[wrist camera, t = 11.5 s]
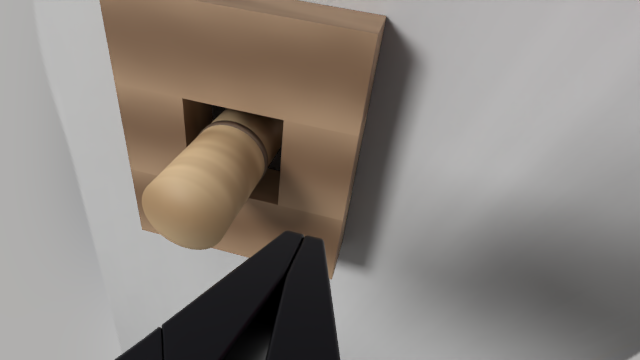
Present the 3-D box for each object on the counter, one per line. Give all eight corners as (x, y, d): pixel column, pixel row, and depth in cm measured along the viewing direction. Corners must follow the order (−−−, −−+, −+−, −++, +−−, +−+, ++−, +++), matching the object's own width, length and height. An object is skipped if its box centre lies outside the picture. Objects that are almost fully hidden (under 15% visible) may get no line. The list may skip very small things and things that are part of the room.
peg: (284, 162, 24) (227, 259, 18) (224, 148, 24) (147, 238, 18) (288, 103, 22) (225, 189, 15) (222, 89, 22) (134, 167, 16)
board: (341, 244, 26) (331, 279, 24) (167, 200, 28) (142, 229, 26) (386, 16, 18) (378, 34, 16) (138, -28, 20) (96, -18, 17)
